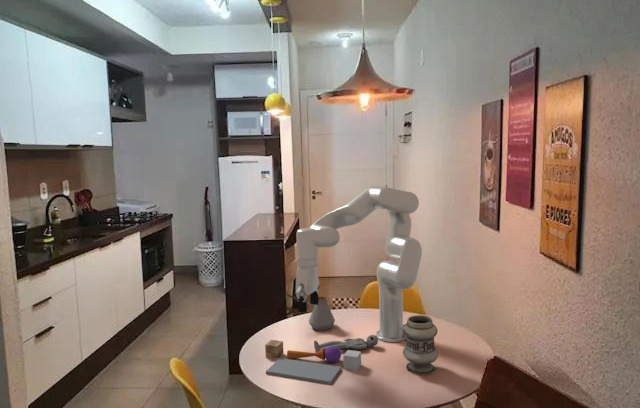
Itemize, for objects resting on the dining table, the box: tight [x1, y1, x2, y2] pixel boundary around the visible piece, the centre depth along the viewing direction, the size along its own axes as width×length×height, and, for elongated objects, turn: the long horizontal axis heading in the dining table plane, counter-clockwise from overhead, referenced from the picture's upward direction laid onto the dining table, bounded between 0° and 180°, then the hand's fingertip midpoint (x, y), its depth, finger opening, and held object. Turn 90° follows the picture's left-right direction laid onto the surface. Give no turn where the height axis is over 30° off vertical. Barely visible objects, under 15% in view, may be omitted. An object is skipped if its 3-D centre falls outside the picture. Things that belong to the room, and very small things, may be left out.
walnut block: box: [264, 339, 284, 360], centre depth 177 cm, size 5×5×5 cm
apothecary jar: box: [402, 314, 439, 376], centre depth 162 cm, size 12×12×18 cm
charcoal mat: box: [265, 357, 342, 385], centre depth 163 cm, size 24×11×1 cm, turn 68°
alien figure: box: [313, 334, 379, 353], centre depth 181 cm, size 8×5×25 cm
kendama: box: [286, 346, 342, 364], centre depth 172 cm, size 6×6×20 cm
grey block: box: [342, 349, 362, 372], centre depth 166 cm, size 5×5×5 cm
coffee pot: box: [285, 294, 336, 331], centre depth 204 cm, size 21×12×15 cm, turn 87°
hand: (308, 308), depth 171 cm, fingers open, 9 cm apart
